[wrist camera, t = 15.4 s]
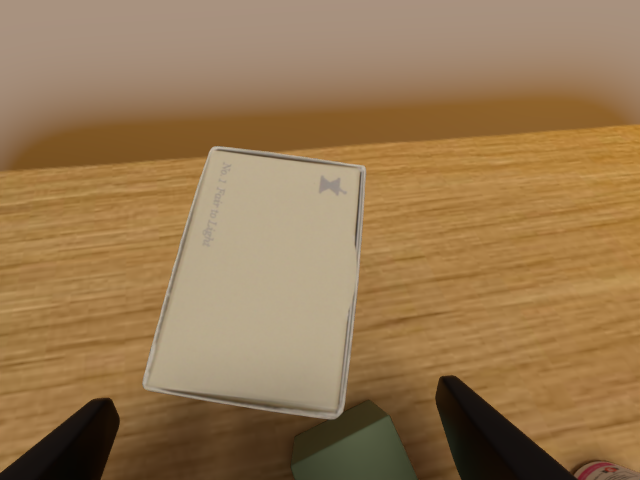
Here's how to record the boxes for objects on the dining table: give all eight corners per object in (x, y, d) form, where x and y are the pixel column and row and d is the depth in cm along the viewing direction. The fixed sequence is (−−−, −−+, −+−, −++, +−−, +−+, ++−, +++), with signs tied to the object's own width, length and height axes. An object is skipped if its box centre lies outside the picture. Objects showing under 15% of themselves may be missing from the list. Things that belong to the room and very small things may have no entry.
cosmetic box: (264, 260, 20) (206, 134, 8) (333, 270, 20) (370, 157, 8) (243, 365, 18) (124, 392, 6) (320, 376, 17) (346, 424, 6)
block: (407, 488, 16) (444, 538, 12) (328, 534, 15) (336, 605, 11) (369, 399, 17) (389, 414, 13) (294, 436, 16) (289, 466, 12)
